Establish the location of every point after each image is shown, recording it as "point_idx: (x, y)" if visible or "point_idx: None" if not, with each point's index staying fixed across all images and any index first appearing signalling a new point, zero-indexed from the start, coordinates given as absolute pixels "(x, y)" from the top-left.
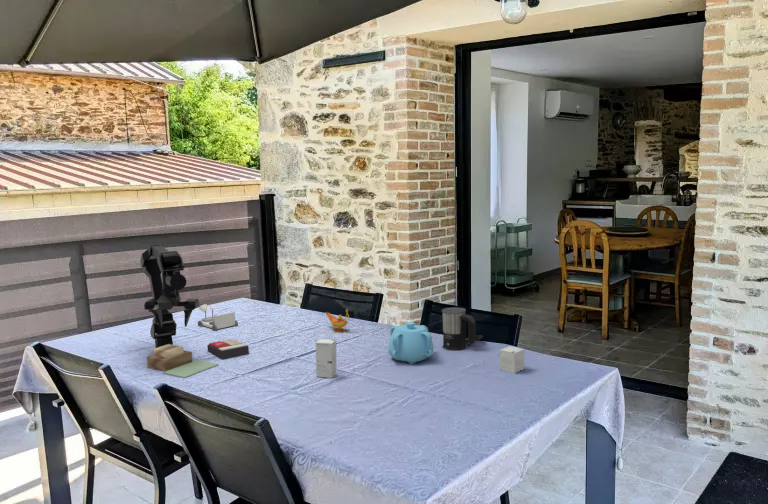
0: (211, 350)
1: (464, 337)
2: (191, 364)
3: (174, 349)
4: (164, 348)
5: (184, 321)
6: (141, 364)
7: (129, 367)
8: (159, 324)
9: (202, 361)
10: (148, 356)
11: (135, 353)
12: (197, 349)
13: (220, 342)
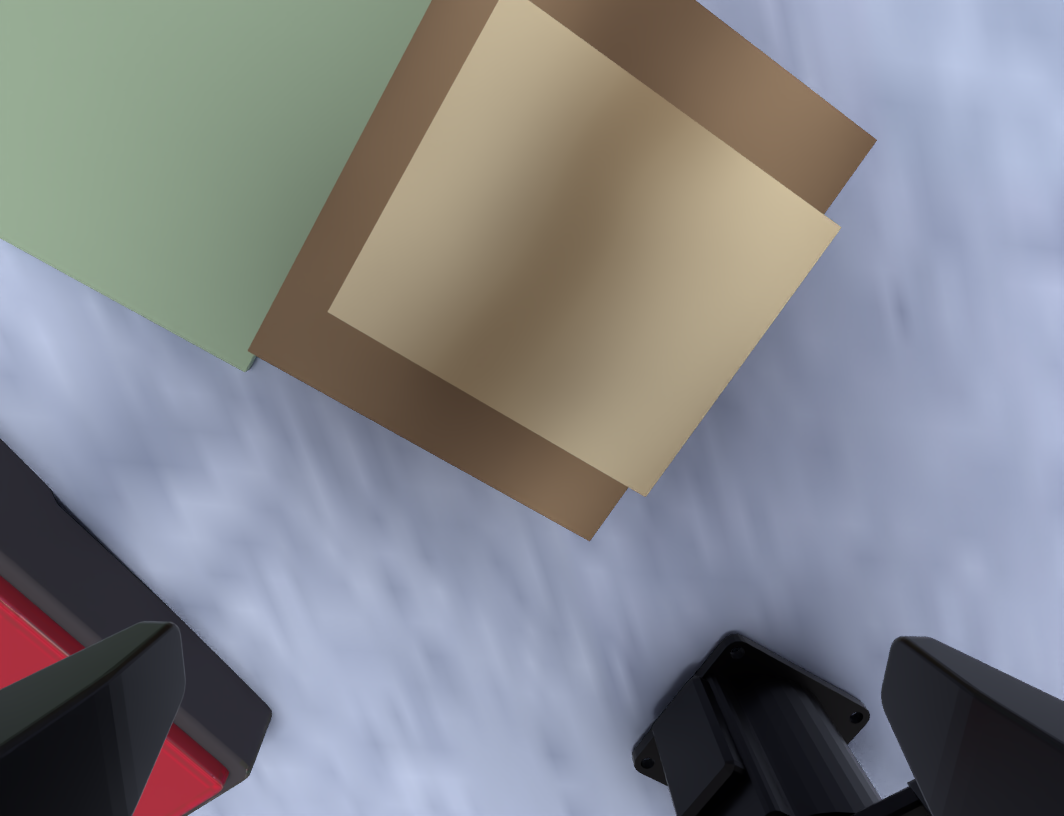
0: None
1: None
2: (246, 178)
3: (427, 141)
4: (637, 233)
5: (45, 715)
6: (903, 302)
7: (1026, 195)
8: (991, 669)
9: (148, 298)
10: (854, 170)
11: None
12: (410, 771)
13: None
